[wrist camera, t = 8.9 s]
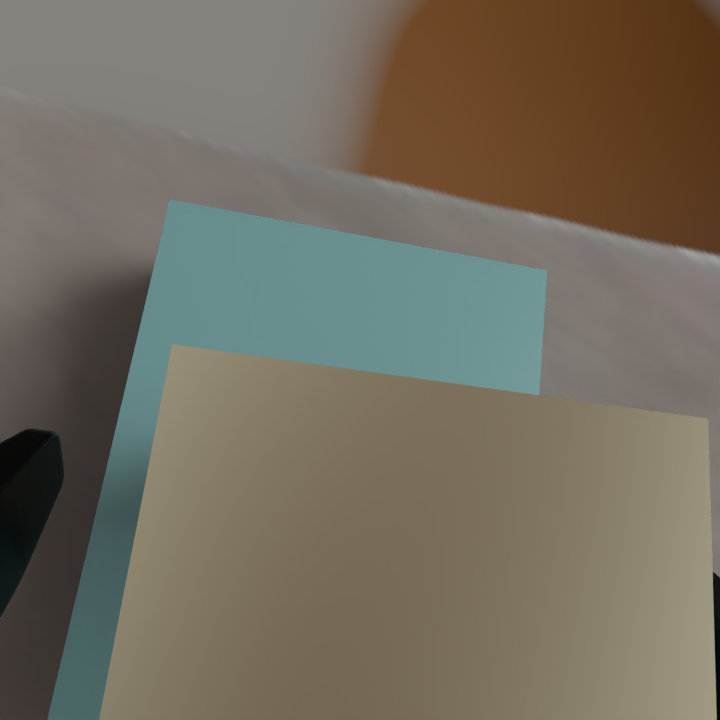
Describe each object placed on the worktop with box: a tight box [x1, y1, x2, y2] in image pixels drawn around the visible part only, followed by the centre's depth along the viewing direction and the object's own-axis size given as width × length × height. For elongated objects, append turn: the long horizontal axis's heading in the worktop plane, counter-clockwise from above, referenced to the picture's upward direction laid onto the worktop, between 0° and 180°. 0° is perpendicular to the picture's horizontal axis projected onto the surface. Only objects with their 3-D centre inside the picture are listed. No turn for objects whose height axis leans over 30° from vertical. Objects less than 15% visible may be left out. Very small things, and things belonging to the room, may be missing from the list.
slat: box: [99, 344, 717, 720], centre depth 11 cm, size 4×2×14 cm, turn 83°
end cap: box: [47, 200, 547, 720], centre depth 15 cm, size 10×14×4 cm
